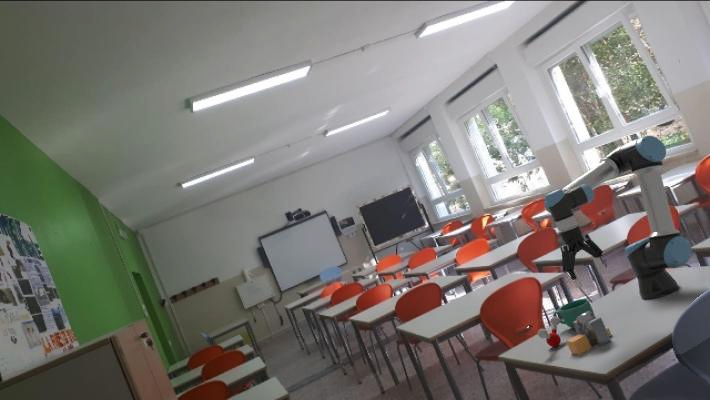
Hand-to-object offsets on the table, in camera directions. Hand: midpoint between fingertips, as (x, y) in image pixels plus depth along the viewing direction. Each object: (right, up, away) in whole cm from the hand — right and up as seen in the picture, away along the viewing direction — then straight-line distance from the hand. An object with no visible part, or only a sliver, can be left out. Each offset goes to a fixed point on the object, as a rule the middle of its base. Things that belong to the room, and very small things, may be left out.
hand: (591, 280), depth 219 cm
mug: (+5, -23, +25) cm, 35 cm away
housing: (0, -23, -4) cm, 23 cm away
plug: (-2, -23, -5) cm, 24 cm away
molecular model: (-9, -28, +11) cm, 32 cm away
